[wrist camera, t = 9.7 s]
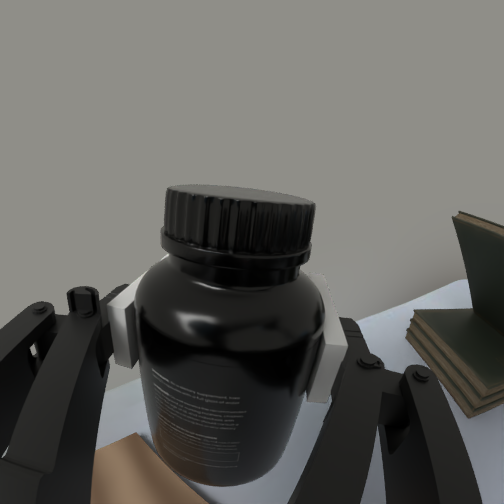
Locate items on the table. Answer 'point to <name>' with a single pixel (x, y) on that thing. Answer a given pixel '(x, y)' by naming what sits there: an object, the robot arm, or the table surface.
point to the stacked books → (469, 323)
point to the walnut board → (136, 476)
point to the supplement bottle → (228, 330)
